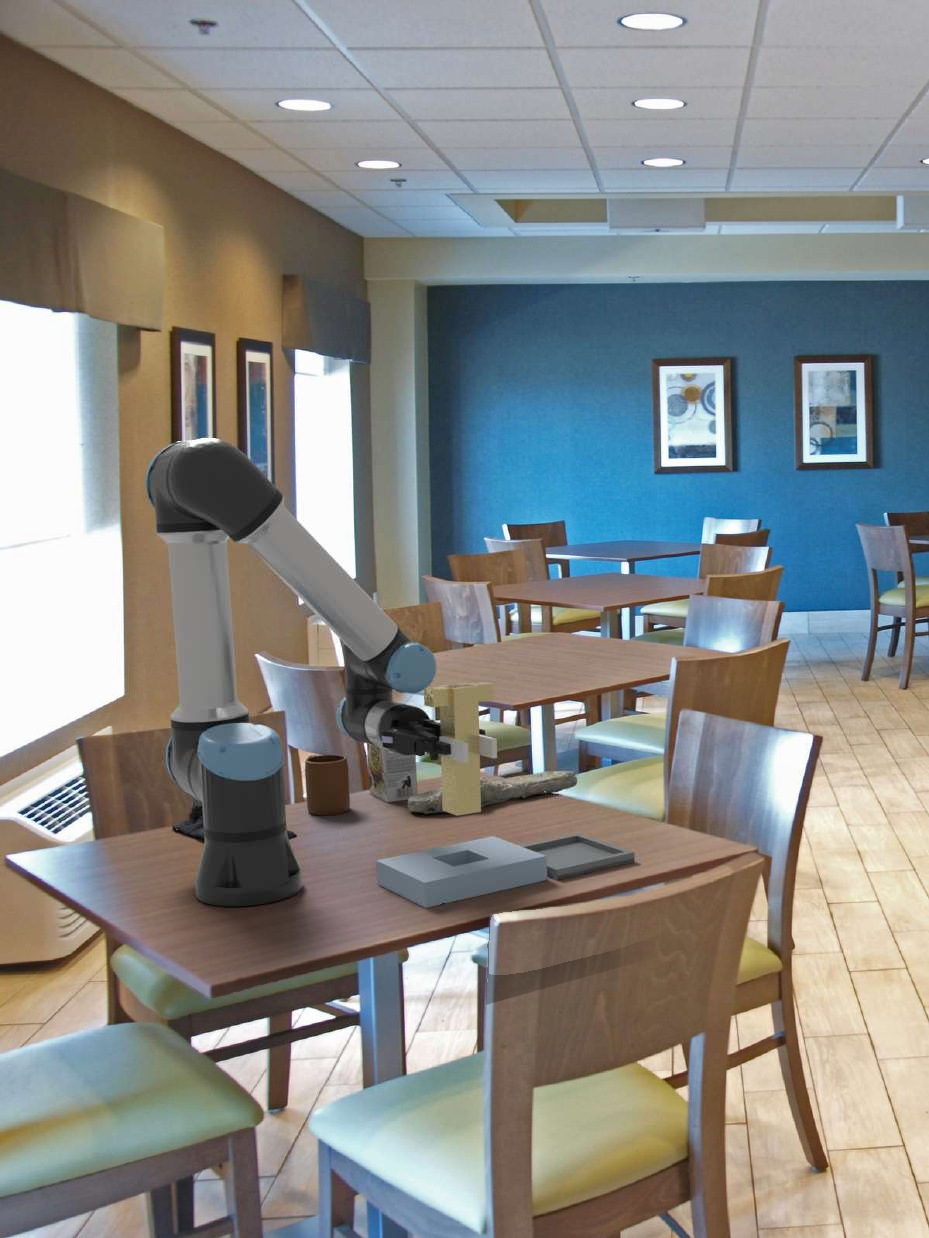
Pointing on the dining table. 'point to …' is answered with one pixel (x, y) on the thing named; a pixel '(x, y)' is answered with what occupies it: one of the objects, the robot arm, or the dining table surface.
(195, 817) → the dark slate chunk
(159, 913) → the dining table surface
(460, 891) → the cover plate
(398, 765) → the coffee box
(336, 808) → the mug
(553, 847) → the tray
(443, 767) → the t key
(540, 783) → the long grey stone
